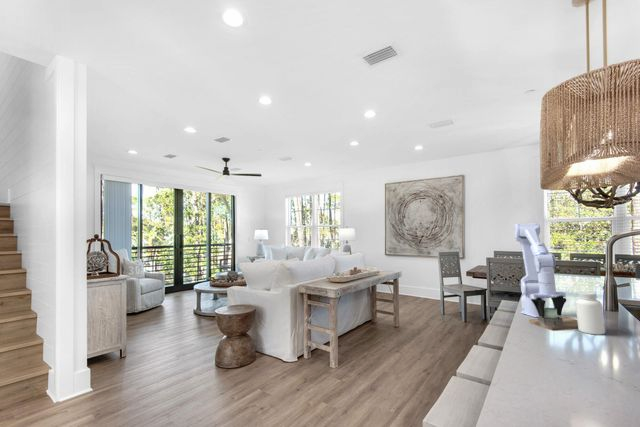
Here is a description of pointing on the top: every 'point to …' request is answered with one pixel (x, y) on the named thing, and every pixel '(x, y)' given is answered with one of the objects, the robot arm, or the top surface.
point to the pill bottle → (589, 314)
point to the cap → (550, 313)
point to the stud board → (556, 323)
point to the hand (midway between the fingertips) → (549, 315)
